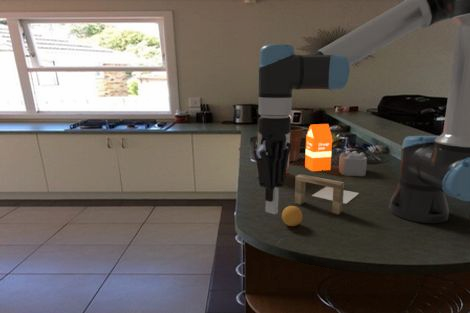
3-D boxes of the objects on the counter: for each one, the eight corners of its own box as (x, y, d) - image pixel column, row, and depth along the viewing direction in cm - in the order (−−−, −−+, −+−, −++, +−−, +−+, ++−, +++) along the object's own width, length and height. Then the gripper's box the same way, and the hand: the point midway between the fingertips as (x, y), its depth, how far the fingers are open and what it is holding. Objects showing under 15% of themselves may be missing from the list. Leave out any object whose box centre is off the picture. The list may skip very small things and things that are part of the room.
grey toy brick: (341, 175, 131) (342, 155, 129) (336, 167, 144) (337, 148, 142) (367, 176, 129) (369, 155, 127) (360, 168, 142) (362, 149, 140)
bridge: (299, 200, 104) (300, 174, 102) (342, 211, 95) (344, 182, 93) (294, 203, 102) (295, 176, 100) (338, 214, 93) (340, 184, 91)
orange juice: (330, 169, 139) (333, 124, 135) (312, 171, 138) (314, 125, 133) (322, 165, 147) (324, 122, 142) (304, 166, 145) (306, 123, 140)
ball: (305, 224, 87) (306, 205, 86) (295, 231, 83) (296, 212, 81) (288, 219, 90) (288, 201, 89) (277, 226, 86) (278, 207, 85)
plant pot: (309, 159, 159) (310, 127, 155) (289, 164, 149) (289, 131, 145) (284, 154, 171) (285, 124, 167) (264, 159, 161) (264, 127, 157)
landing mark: (359, 193, 110) (359, 193, 110) (346, 204, 101) (346, 203, 101) (326, 187, 117) (326, 186, 117) (311, 196, 108) (311, 195, 108)
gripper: (275, 113, 79) (273, 201, 85) (244, 117, 70) (243, 216, 75) (302, 115, 75) (298, 208, 80) (272, 119, 65) (269, 225, 70)
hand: (271, 212), depth 78 cm, fingers closed
